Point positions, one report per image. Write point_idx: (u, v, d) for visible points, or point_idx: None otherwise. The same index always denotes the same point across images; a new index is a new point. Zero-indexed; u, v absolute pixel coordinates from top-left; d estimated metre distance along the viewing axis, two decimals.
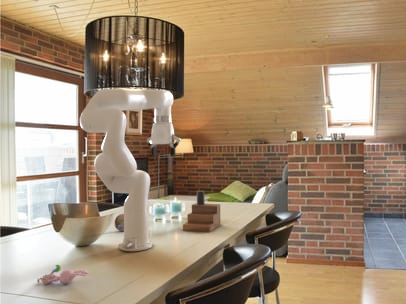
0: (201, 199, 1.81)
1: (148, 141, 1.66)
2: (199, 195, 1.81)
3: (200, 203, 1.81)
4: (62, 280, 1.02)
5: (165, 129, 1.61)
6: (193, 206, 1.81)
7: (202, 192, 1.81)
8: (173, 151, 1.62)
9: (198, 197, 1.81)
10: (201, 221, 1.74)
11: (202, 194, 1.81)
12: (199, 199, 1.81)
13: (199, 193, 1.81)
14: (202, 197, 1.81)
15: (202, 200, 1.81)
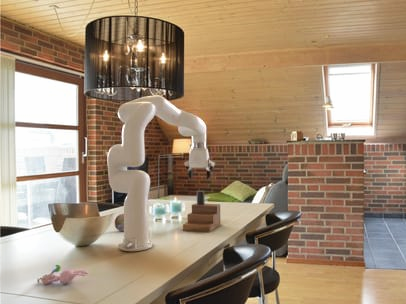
0: (201, 199, 1.81)
1: (185, 164, 1.84)
2: (199, 195, 1.81)
3: (200, 203, 1.81)
4: (62, 280, 1.02)
5: (202, 154, 1.79)
6: (193, 206, 1.81)
7: (202, 192, 1.81)
8: (209, 174, 1.80)
9: (198, 197, 1.81)
10: (201, 221, 1.74)
11: (202, 194, 1.81)
12: (199, 199, 1.81)
13: (199, 193, 1.81)
14: (202, 197, 1.81)
15: (202, 200, 1.81)
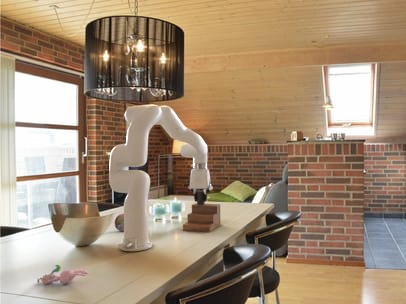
0: (201, 199, 1.81)
1: (190, 188, 1.84)
2: (199, 195, 1.81)
3: (200, 203, 1.81)
4: (62, 280, 1.02)
5: (203, 175, 1.80)
6: (193, 206, 1.81)
7: (202, 192, 1.81)
8: (205, 197, 1.81)
9: (198, 197, 1.81)
10: (201, 221, 1.74)
11: (202, 194, 1.81)
12: (199, 199, 1.81)
13: (199, 193, 1.81)
14: (202, 197, 1.81)
15: (202, 200, 1.81)
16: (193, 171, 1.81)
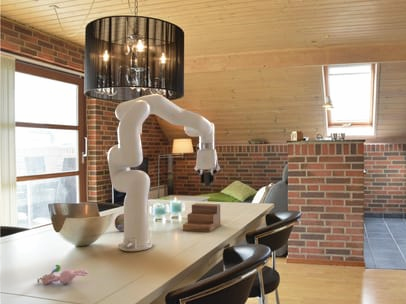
0: (208, 180, 1.74)
1: (196, 169, 1.77)
2: (206, 176, 1.74)
3: (207, 184, 1.74)
4: (62, 280, 1.02)
5: (210, 155, 1.73)
6: (193, 206, 1.81)
7: (209, 173, 1.74)
8: (212, 178, 1.74)
9: (204, 178, 1.74)
10: (201, 221, 1.74)
11: (209, 175, 1.74)
12: (206, 180, 1.74)
13: (206, 174, 1.74)
14: (209, 178, 1.74)
15: (209, 181, 1.74)
16: (200, 151, 1.74)
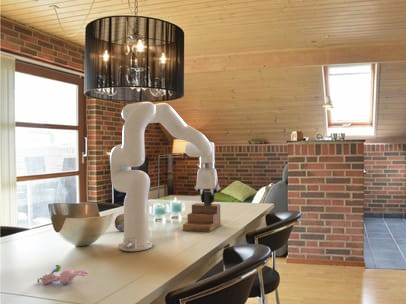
0: (208, 200, 1.74)
1: (197, 188, 1.77)
2: (206, 196, 1.74)
3: (207, 204, 1.74)
4: (62, 280, 1.02)
5: (210, 175, 1.73)
6: (193, 206, 1.81)
7: (209, 192, 1.75)
8: (213, 198, 1.74)
9: (205, 198, 1.75)
10: (201, 221, 1.74)
11: (209, 195, 1.75)
12: (206, 200, 1.74)
13: (206, 194, 1.74)
14: (209, 198, 1.75)
15: (209, 201, 1.75)
16: (200, 171, 1.74)
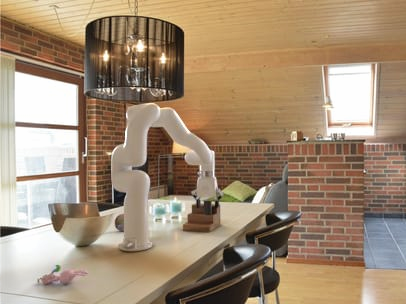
0: (208, 209, 1.74)
1: (193, 193, 1.77)
2: (206, 205, 1.74)
3: (207, 213, 1.74)
4: (62, 280, 1.02)
5: (210, 183, 1.73)
6: (193, 206, 1.81)
7: (209, 202, 1.75)
8: (217, 204, 1.74)
9: (205, 207, 1.75)
10: (201, 221, 1.74)
11: (209, 204, 1.75)
12: (206, 209, 1.74)
13: (206, 203, 1.74)
14: (209, 207, 1.75)
15: (209, 210, 1.75)
16: (200, 179, 1.74)
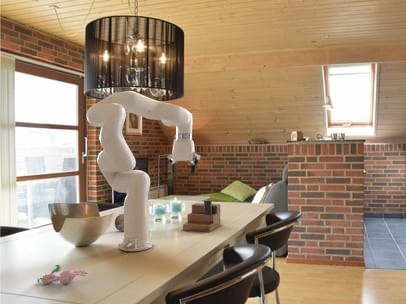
0: (208, 209, 1.74)
1: (169, 158, 1.69)
2: (206, 205, 1.74)
3: (207, 213, 1.74)
4: (62, 280, 1.02)
5: (186, 146, 1.64)
6: (193, 206, 1.81)
7: (209, 202, 1.75)
8: (194, 168, 1.65)
9: (205, 207, 1.75)
10: (201, 221, 1.74)
11: (209, 204, 1.75)
12: (206, 209, 1.74)
13: (206, 203, 1.74)
14: (209, 207, 1.75)
15: (209, 210, 1.75)
16: (176, 142, 1.66)
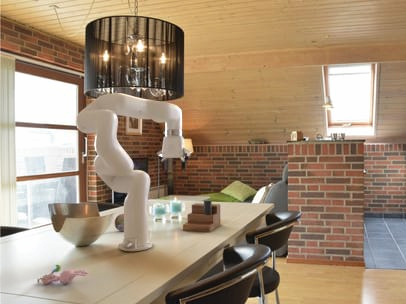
0: (208, 209, 1.74)
1: (159, 154, 1.66)
2: (206, 205, 1.74)
3: (207, 213, 1.74)
4: (62, 280, 1.02)
5: (176, 143, 1.61)
6: (193, 206, 1.81)
7: (209, 202, 1.75)
8: (184, 165, 1.62)
9: (205, 207, 1.75)
10: (201, 221, 1.74)
11: (209, 204, 1.75)
12: (206, 209, 1.74)
13: (206, 203, 1.74)
14: (209, 207, 1.75)
15: (209, 210, 1.75)
16: (165, 138, 1.63)
